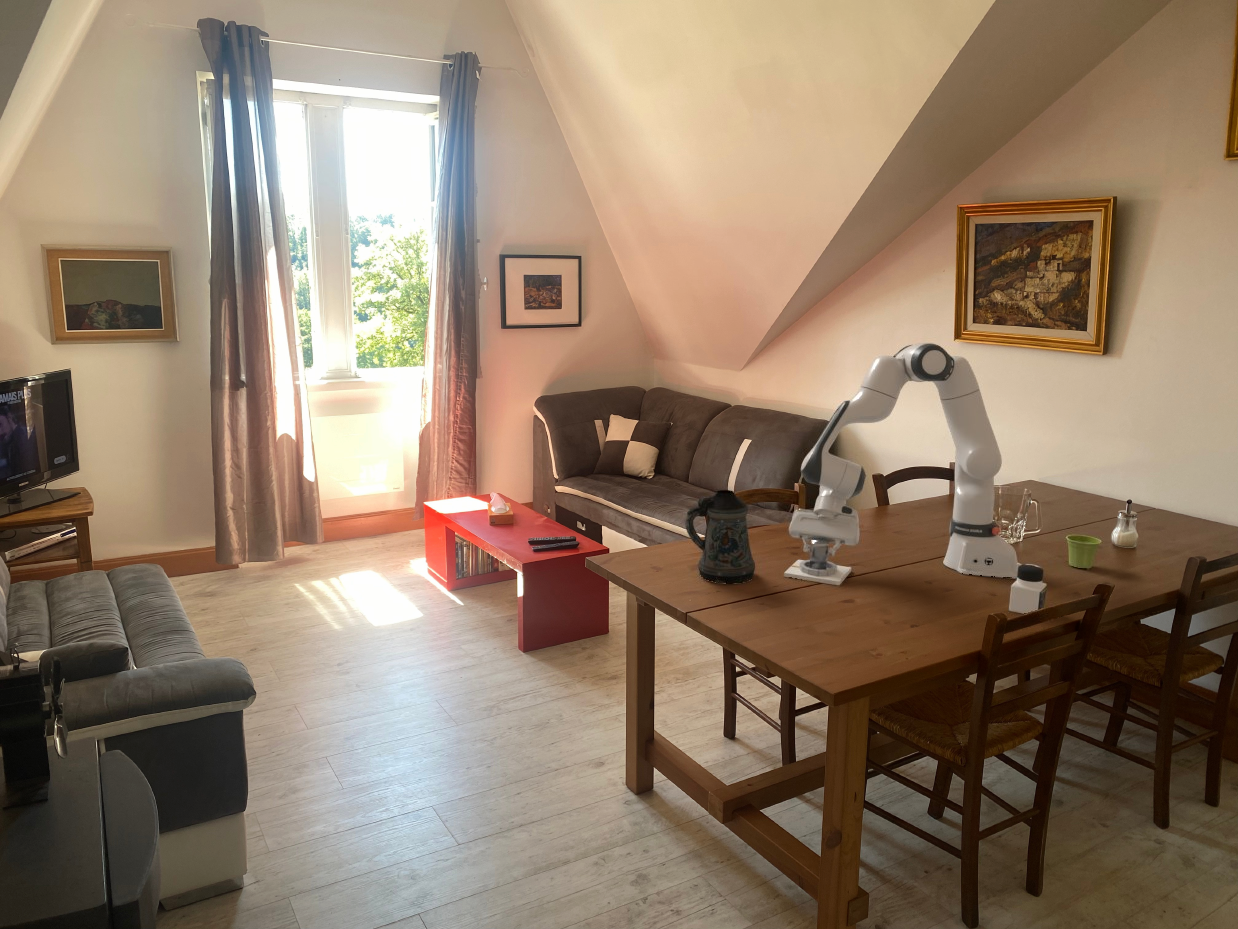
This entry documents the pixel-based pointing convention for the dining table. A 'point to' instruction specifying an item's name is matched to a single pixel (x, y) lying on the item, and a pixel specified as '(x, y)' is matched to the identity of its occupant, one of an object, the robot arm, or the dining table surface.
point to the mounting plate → (819, 578)
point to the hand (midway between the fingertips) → (818, 552)
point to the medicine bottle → (1028, 590)
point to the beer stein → (723, 538)
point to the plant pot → (1082, 550)
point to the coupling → (819, 553)
